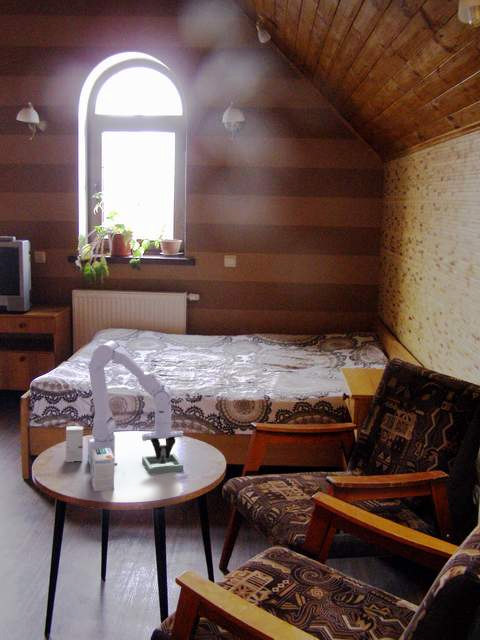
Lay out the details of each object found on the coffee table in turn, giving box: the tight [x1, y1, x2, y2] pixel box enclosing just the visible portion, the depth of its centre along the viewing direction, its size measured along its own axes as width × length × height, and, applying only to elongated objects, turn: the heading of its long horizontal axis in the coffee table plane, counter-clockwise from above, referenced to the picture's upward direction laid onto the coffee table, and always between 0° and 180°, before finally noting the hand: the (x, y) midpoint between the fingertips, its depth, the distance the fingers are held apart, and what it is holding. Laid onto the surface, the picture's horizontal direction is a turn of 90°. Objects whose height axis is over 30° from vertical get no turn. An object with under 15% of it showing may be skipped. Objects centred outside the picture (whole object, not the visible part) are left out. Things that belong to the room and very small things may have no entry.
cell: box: [157, 444, 168, 465], centre depth 235 cm, size 3×3×6 cm
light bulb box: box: [90, 448, 115, 492], centre depth 218 cm, size 11×7×11 cm, turn 19°
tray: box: [141, 453, 184, 475], centre depth 236 cm, size 12×12×2 cm
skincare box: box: [65, 425, 84, 463], centre depth 239 cm, size 6×4×12 cm
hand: (162, 457), depth 236 cm, fingers closed on cell, 3 cm apart
